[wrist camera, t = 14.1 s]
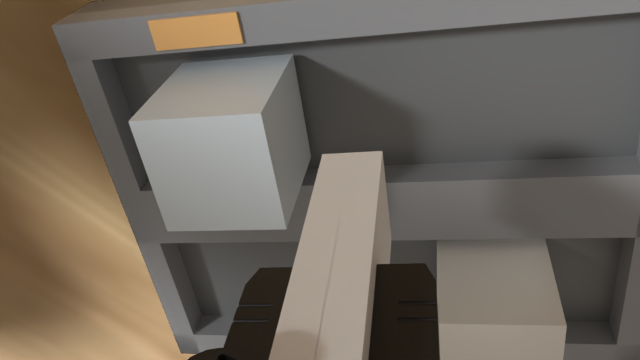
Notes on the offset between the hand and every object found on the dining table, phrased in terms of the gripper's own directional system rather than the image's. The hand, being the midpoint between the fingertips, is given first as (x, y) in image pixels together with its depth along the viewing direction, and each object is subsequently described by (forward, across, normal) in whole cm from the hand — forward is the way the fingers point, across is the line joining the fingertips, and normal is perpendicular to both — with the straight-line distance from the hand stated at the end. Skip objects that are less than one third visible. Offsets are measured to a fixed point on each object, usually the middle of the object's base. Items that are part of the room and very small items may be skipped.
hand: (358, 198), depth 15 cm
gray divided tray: (+8, 0, -4) cm, 9 cm away
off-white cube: (+6, +4, -8) cm, 11 cm away
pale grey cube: (+6, -5, 0) cm, 8 cm away
